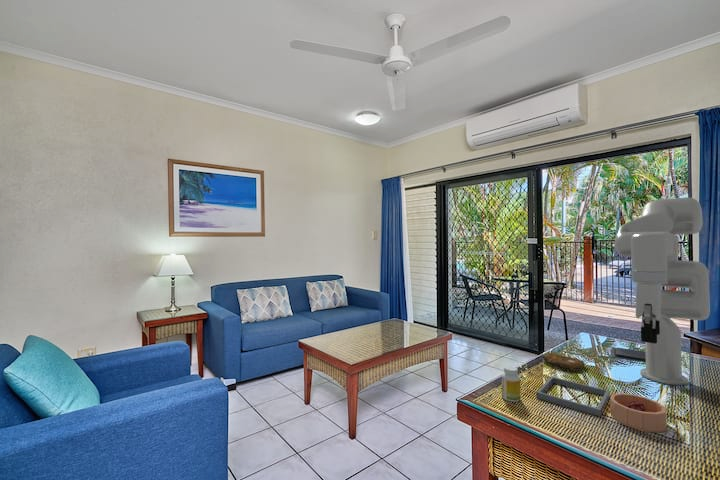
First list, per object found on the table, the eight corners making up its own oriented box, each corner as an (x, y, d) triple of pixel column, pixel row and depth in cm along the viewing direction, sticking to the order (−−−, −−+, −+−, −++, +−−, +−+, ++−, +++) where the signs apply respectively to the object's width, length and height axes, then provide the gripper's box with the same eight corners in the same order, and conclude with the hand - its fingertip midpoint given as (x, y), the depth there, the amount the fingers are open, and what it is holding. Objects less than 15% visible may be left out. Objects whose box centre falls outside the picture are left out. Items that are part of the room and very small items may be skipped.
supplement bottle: (498, 396, 106) (497, 366, 106) (509, 393, 108) (509, 363, 108) (512, 403, 101) (511, 372, 101) (524, 400, 103) (523, 369, 103)
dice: (648, 416, 91) (647, 402, 91) (644, 422, 88) (644, 407, 88) (630, 411, 94) (630, 397, 94) (626, 417, 91) (626, 402, 91)
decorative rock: (536, 366, 133) (581, 377, 122) (536, 356, 132) (581, 366, 122) (544, 357, 141) (586, 367, 131) (544, 347, 141) (586, 356, 130)
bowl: (614, 405, 99) (613, 389, 99) (666, 419, 91) (666, 402, 91) (607, 421, 91) (607, 403, 91) (665, 438, 82) (665, 418, 82)
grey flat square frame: (551, 381, 116) (551, 376, 116) (609, 396, 105) (609, 390, 105) (536, 397, 105) (536, 392, 105) (600, 416, 93) (600, 410, 93)
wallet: (609, 353, 140) (611, 344, 152) (609, 358, 140) (611, 348, 152) (674, 364, 128) (671, 353, 139) (674, 369, 127) (671, 358, 139)
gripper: (635, 273, 101) (637, 328, 101) (627, 280, 89) (629, 343, 89) (669, 274, 96) (670, 333, 96) (665, 282, 83) (667, 349, 84)
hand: (650, 337), depth 92 cm, fingers open, 9 cm apart
